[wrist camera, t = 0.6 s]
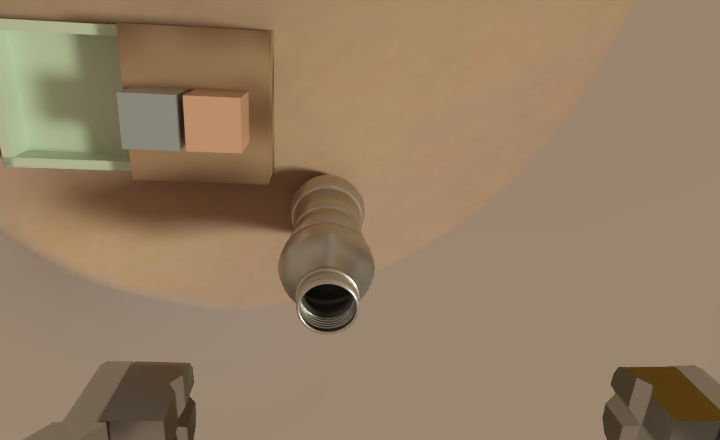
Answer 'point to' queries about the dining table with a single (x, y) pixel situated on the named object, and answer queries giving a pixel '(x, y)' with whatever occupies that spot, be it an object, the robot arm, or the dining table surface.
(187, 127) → the peach colored cube
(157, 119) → the matte grey cube
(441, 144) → the dining table surface
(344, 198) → the plastic bottle
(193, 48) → the brown wooden block
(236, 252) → the dining table surface
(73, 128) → the tray
